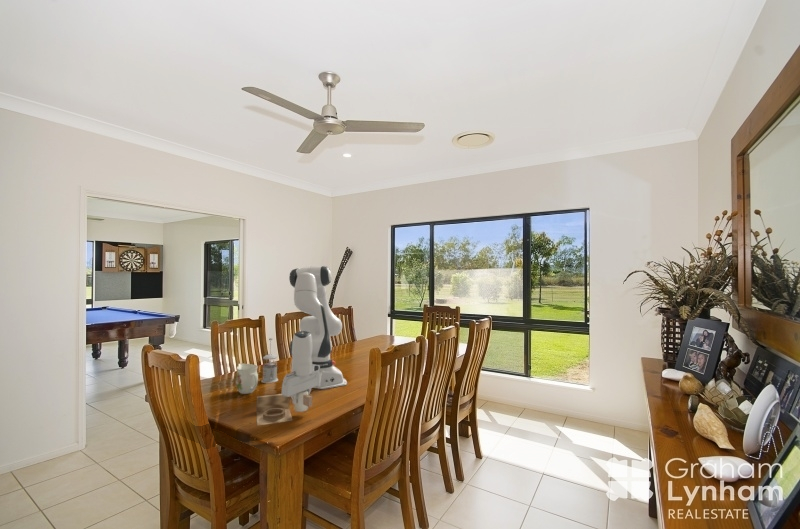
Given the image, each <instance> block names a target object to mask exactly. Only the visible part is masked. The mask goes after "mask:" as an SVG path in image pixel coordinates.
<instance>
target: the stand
mask: <svg viewBox="0 0 800 529" xmlns="http://www.w3.org/2000/svg"><path fill="white" fill-rule="evenodd" d="M291 421H293V417H292V413H291V410H290V397H285V396H283V395H282V393H278V394H277V393H276V394H269V395H260V396H256V426H258V427H259V426H264V425H270V424H279V423H285V422H291Z"/></svg>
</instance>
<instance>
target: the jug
mask: <svg viewBox="0 0 800 529" xmlns="http://www.w3.org/2000/svg"><path fill="white" fill-rule="evenodd" d="M295 397H296V399H298V403H297V404H294V407H293V409H294V412H297V413H303V412H306V411H308V409H309V408H311V407H313V396H312V395H311V394H309V395H308V391H307V390H304V391H302V392H299V393H297V395H296V396H295Z"/></svg>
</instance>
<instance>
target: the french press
mask: <svg viewBox="0 0 800 529" xmlns="http://www.w3.org/2000/svg"><path fill="white" fill-rule="evenodd" d="M268 341H270V344H269V345H270V346H269V349H270V350H269V351H270V352H269V354H266V355H264V356H262V359H263V360H268V361H269V362H265V363H263V366H262V379H261V380H260V382H261V383H262V384H263V383H264V384H271V383H276V382H278V381H279V378H278V375H277V373H278V365H277V362H275V361H274V360H275V359H278V355H276V354H273V353H272V352H271V350H272V349H271V348H272V347H271V346H272V344H271V343H272V341H273V338H272V337H269V339H268ZM271 353H272V354H271ZM271 360H273V361H272V362H271Z"/></svg>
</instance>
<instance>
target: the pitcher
mask: <svg viewBox="0 0 800 529" xmlns="http://www.w3.org/2000/svg"><path fill="white" fill-rule="evenodd" d="M258 368H259V366H258V365H257V364H251V363H243V362H242V363H238V365H237V366H236V371H237V372H236V376H235V386H236V389H237V391H238V392H239V393H240V394H241V395H247V394H252V393H253V392H254V391H255V390H256V388H257V386H258V382H259V375H258Z"/></svg>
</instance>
